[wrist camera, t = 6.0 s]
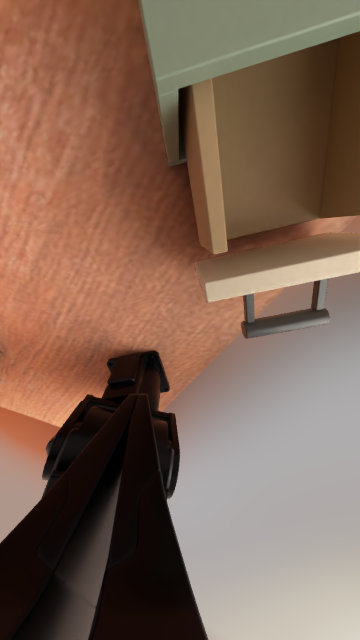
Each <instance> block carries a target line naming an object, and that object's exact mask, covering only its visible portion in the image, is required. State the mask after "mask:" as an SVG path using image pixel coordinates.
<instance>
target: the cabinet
mask: <svg viewBox="0 0 360 640" xmlns="http://www.w3.org/2000/svg"><path fill="white" fill-rule="evenodd" d="M137 2H138V7H139V12H140V18H141V23H142V28H143V33H144V38H145V44H146V49H147V54H148V59H149V64H150V70H151V75H152V80H153V85H154V90H155V96H156V101H157V106H158V111H159V117H160V122H161V127H162V132H163V137H164V143H165V148H166V153H167V158H168V163H169V167H171V166H175V165H178V164H182V163H185V162H187V159H186V153H185V147H184V140H183V134H182V127H181V121H180V115H179V108H178V89H179V88H183V87H186V86H189V85H192V84H195V83H198V82H201V81H205V80H208V79H211V78H214V77H217V76H220V75H223V74H227V73H230V72H233V71H236V70H239V69H242V68H245V67H249V66H252V65H255V64H258V63H261V62H264V61H267V60H271V59H274V58H277V57H280V56H283V55H286V54H289V53H293V52H296V51H299V50H302V49H305V48H308V47H311V46H315V45H318V44H321V43H324V42H327V41H330V40H333V39H337V38H340V37H343V36H346V35H349V34H352V33H355V32H359V31H360V0H137Z"/></svg>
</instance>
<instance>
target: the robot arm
mask: <svg viewBox="0 0 360 640" xmlns="http://www.w3.org/2000/svg"><path fill="white" fill-rule="evenodd" d="M153 355H156V356H153ZM111 363H113V364H111ZM107 366H108V368H109V370H110V372H111V375H110V377H109V379H108V381H107V384H108V385H107V387H106V389H105V392H104V394H103V396H102V398H97V397H93V395H89V394H87V395H86V397H85V398H84V400H83V401H81V402H80V403H79V404H78V406H77V407H76V408H75V410H74V411H73V412H72V414H71V415H70V416H69V418H68V419H67V420H66V422H65V423H64V424H63V426H62V427H61V429H60V430H59V431H58V433H57V434H56V435H55V436H54V437H53V438H52V439H51V440H50V441H49V443H48V445H47V447H46V452H47V455H48V457H47V460H46V464H45V466H44V470H43V475H42V478H43V480H48V483H47V485H46V488H45V491H44V493H43V496H42V499H41V500H40V501H39V502H38V504H37V505H36V506H35V507H34V508H33V509H32V510H31V511H30V512H29V513H28V515H26V516H25V518H24V519H23V520H22V521H21V522H20V523H19V524H18V525H17V526H16V527H15V528H14V529H13V530H12V531H11V532H10V533H9V534H8V536H7V537H6V538H5V539H4V540H3V541H2V542H1V543H0V640H208V638H207V634H206V631H205V628H204V625H203V622H202V619H201V616H200V613H199V610H198V607H197V604H196V601H195V597H194V594H193V591H192V588H191V584H190V581H189V578H188V574H187V571H186V567H185V564H184V561H183V557H182V554H181V551H180V547H179V543H178V540H177V536H176V533H175V530H174V526H173V523H172V519H171V516H170V512H169V508H168V504H167V498H168V499H169V498H171V497H172V495H173V492H174V490H175V486H176V482H177V477H178V471H179V461H180V449H179V440H178V433H177V425H176V418H175V414H174V413H164V412H160V411H158V407H159V399H160V393H162V392H168V391H169V390H170V386H169V383H168V380H167V377H166V374H165V371H164V368H163V365H162V362H161V359H160V356H159V353H158V352H157V351H151V352H145V353H137V354H132V355H126V356H121V357H118V358H112V359H109V360H108V361H107Z"/></svg>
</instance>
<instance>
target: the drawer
mask: <svg viewBox="0 0 360 640" xmlns="http://www.w3.org/2000/svg"><path fill="white" fill-rule="evenodd" d="M178 108H179V115H180V121H181V127H182V134H183V140H184V147H185V153H186V159H187V166H188V172H189V179H190V185H191V191H192V198H193V204H194V211H195V217H196V223H197V230H198V236H199V243H200V245H201V246H202V247H204V248H205V249H206V250H208V251H209V252H210V253H212V254H214V255H215V254H219V253H224V252H227V251H228V247H227V240H229V239H233V238H238V237H242V236H246V235H251V234H255V233H259V232H264V231H268V230H272V229H277V228H281V227H285V226H289V225H294V224H298V223H302V222H307V221H311V220H315V219H320V218H332V217H344V216H356V215H360V31H359V32H355V33H352V34H349V35H346V36H343V37H340V38H337V39H333V40H330V41H327V42H324V43H321V44H318V45H315V46H311V47H308V48H305V49H302V50H299V51H296V52H293V53H289V54H286V55H283V56H280V57H277V58H274V59H271V60H267V61H264V62H261V63H258V64H255V65H252V66H249V67H245V68H242V69H239V70H236V71H233V72H230V73H227V74H223V75H220V76H217V77H214V78H211V79H208V80H205V81H201V82H198V83H195V84H192V85H189V86H186V87H183V88H179V89H178ZM195 269H196V274H197V277H198V280H199V282H200V285H201V288H202V290H203V293H204V295H205V298H206V301H207V302H213V301H218V300H223V299H228V298H233V297H238V296H243V301H244V316H245V321H243V322H242V323H241V328H242V333H243V335H244V337H245V338H246V339H248V338H254V337H259V336H265V335H270V334H276V333H281V332H287V331H292V330H298V329H304V328H309V327H315V326H320V325H326V324H327V323H328V322H329V319H330V316H329V313H328V311H327V310H326V309H325V308H324V307H325V300H326V293H327V286H328V280H329V278H332V277H336V276H342V275H347V274H352V273H357V272H360V233H322V234H318V235H313V236H309V237H304V238H300V239H296V240H291V241H287V242H282V243H278V244H273V245H269V246H264V247H260V248H255V249H251V250H246V251H242V252H238V253H233V254H229V255H224V256H220V257H215V258H211V259H206V260H202V261H197V262H195ZM312 281H314V288H313V296H312V305H311V309H306V310H300V311H296V312H290V313H284V314H279V315H274V316H268V317H263V318H258V319H255V317H254V293H258V292H263V291H268V290H273V289H278V288H282V287H287V286H292V285H297V284H302V283H307V282H312Z"/></svg>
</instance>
